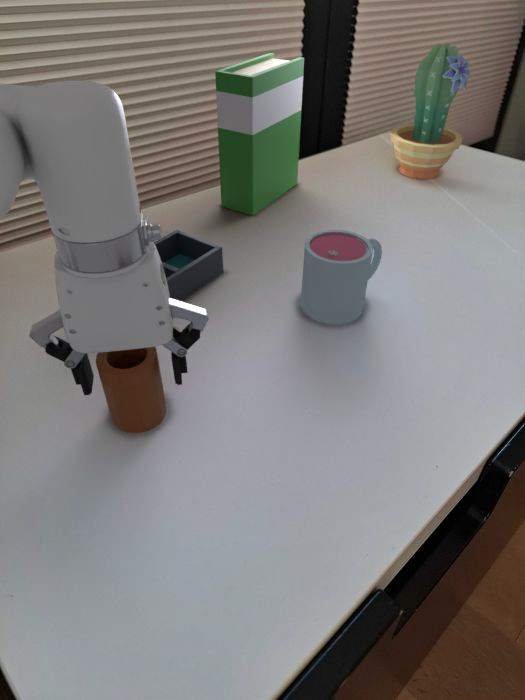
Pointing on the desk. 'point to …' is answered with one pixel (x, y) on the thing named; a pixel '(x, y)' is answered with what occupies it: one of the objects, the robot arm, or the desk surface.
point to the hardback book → (258, 130)
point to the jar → (133, 388)
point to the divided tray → (188, 263)
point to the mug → (337, 275)
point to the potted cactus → (431, 114)
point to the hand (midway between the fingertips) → (134, 381)
